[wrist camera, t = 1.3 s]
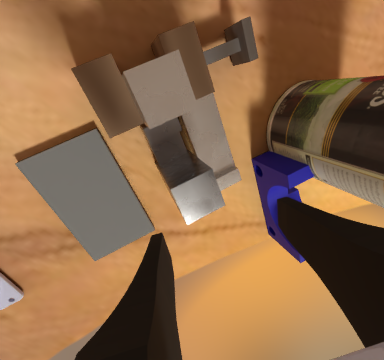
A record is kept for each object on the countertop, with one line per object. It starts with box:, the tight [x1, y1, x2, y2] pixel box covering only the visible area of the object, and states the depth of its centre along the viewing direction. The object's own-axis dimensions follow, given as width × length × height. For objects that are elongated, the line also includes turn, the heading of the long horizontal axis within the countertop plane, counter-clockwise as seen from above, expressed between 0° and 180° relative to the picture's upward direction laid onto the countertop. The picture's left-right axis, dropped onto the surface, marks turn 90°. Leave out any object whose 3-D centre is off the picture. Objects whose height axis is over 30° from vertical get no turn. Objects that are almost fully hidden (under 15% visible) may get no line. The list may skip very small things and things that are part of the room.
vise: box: [71, 17, 258, 138], centre depth 18 cm, size 14×5×4 cm, turn 111°
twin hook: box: [122, 49, 241, 191], centre depth 19 cm, size 7×13×7 cm, turn 21°
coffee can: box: [267, 76, 384, 208], centre depth 20 cm, size 10×10×14 cm
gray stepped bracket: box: [140, 117, 225, 225], centre depth 19 cm, size 4×8×7 cm, turn 21°
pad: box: [15, 128, 155, 261], centre depth 21 cm, size 7×12×1 cm, turn 21°
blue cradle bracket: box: [252, 151, 314, 263], centre depth 26 cm, size 12×4×6 cm, turn 20°
